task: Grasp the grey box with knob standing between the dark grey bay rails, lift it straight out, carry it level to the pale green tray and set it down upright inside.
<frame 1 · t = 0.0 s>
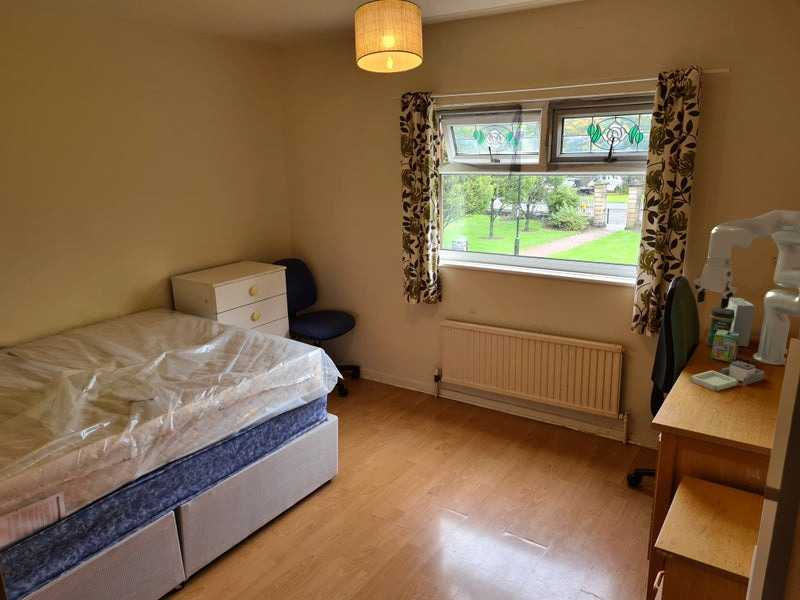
hand: (712, 304, 211), 31 cm above the table, fingers open, 9 cm apart
chalk box: (723, 358, 242), on the table
bay: (740, 377, 220), on the table
dock tray: (713, 382, 216), on the table
grey box with knob: (740, 378, 220), resting in bay
coffee jar: (717, 346, 256), on the table
hard drive box: (733, 341, 263), on the table
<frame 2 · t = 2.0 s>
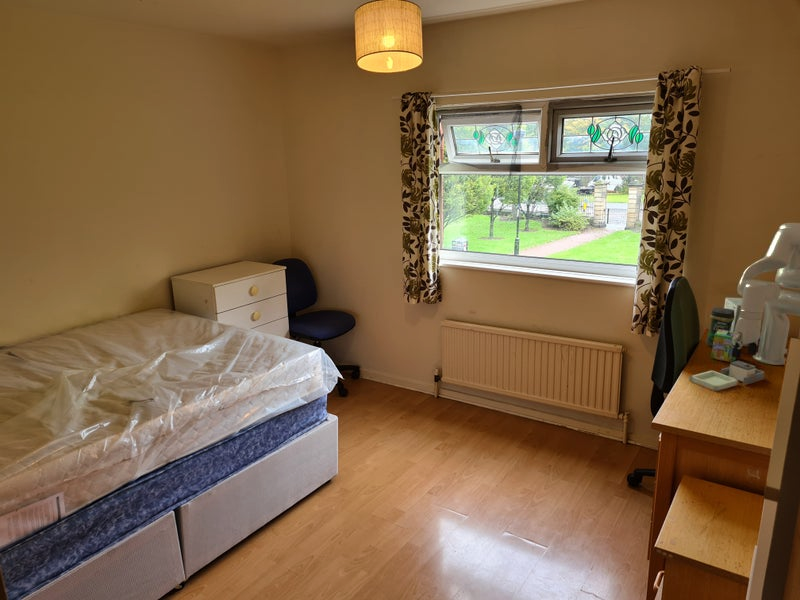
hand: (743, 356, 217), 10 cm above the table, fingers open, 9 cm apart
nothing on the table moved.
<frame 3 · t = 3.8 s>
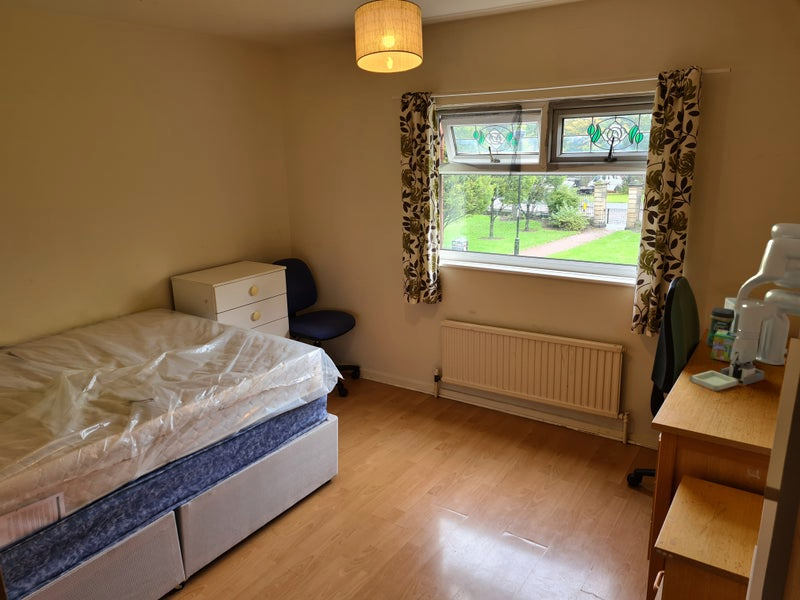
hand: (741, 376, 220), 1 cm above the table, fingers closed on grey box with knob, 5 cm apart
grey box with knob: (740, 378, 220), resting in bay, touching gripper
everything else where it was.
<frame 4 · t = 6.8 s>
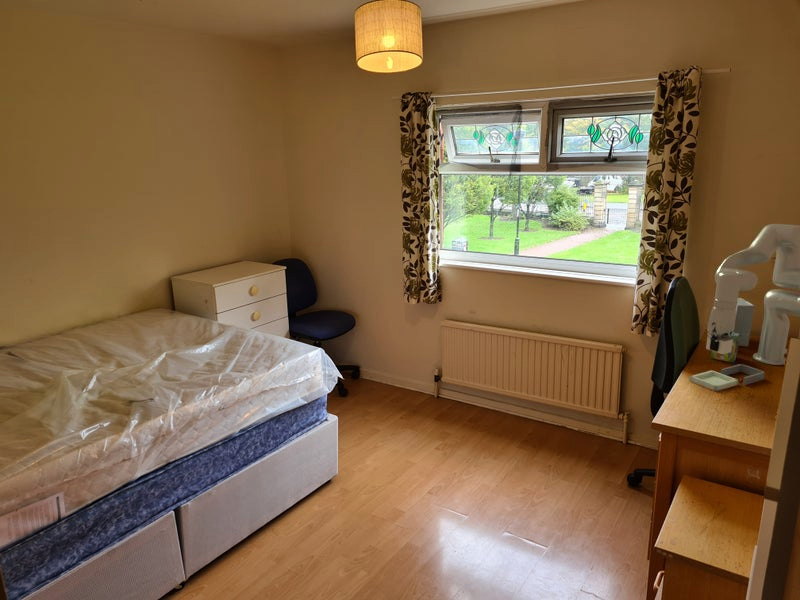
hand: (718, 348, 212), 14 cm above the table, fingers closed on grey box with knob, 5 cm apart
grey box with knob: (718, 350, 212), point 14 cm above the table, touching gripper
everything else where it was.
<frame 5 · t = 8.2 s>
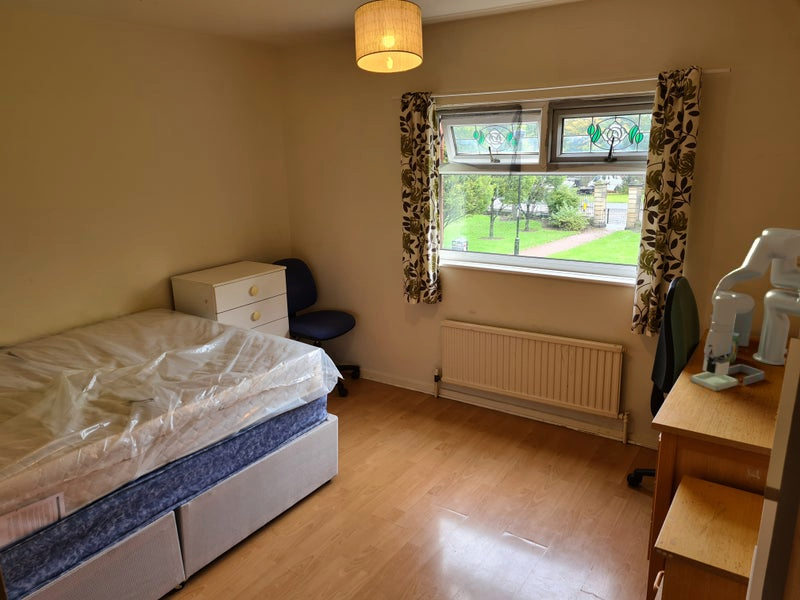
hand: (715, 370, 215), 5 cm above the table, fingers closed on grey box with knob, 5 cm apart
grey box with knob: (715, 372, 215), point 5 cm above the table, touching gripper
everything else where it was.
when the fingers open (2 cm above the table, at t = 9.7 s): grey box with knob stays where it is, resting on dock tray.
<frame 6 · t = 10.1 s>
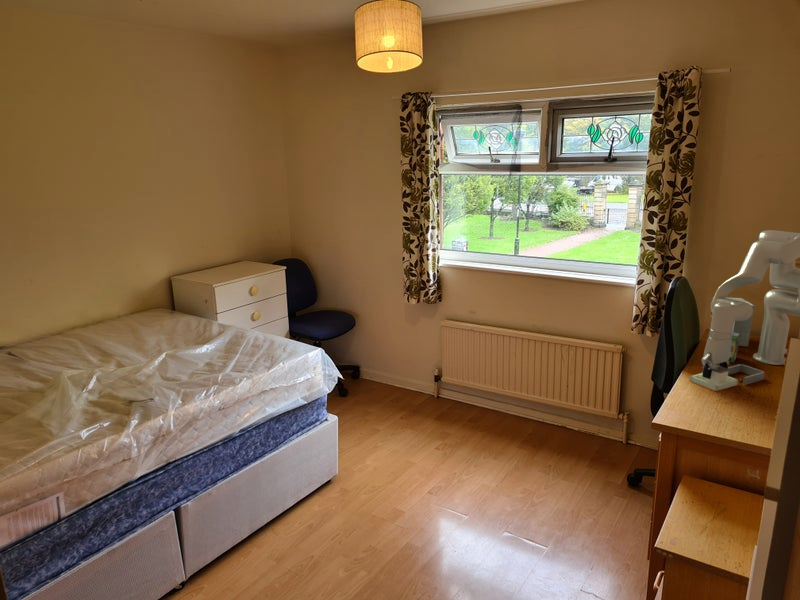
hand: (714, 375, 215), 3 cm above the table, fingers open, 9 cm apart
grey box with knob: (713, 381, 216), resting on dock tray
everything else where it was.
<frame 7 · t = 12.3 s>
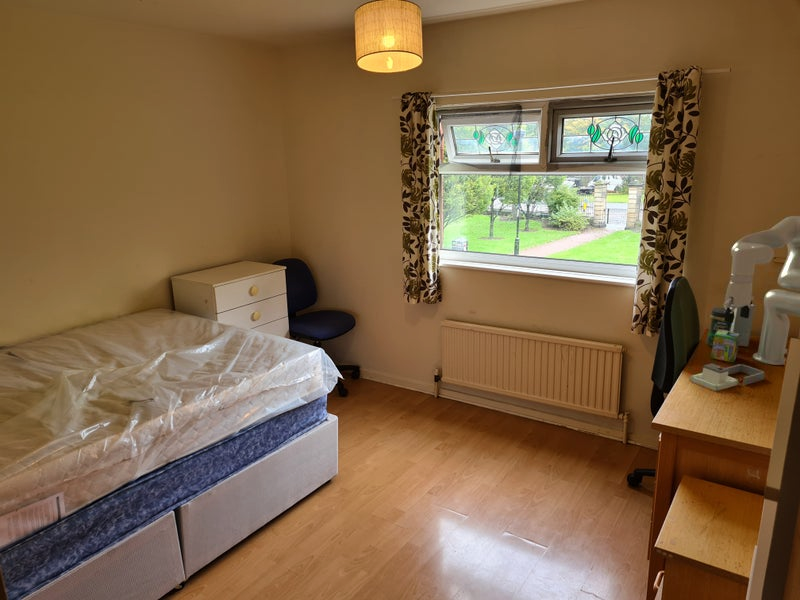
hand: (736, 319, 217), 24 cm above the table, fingers open, 9 cm apart
nothing on the table moved.
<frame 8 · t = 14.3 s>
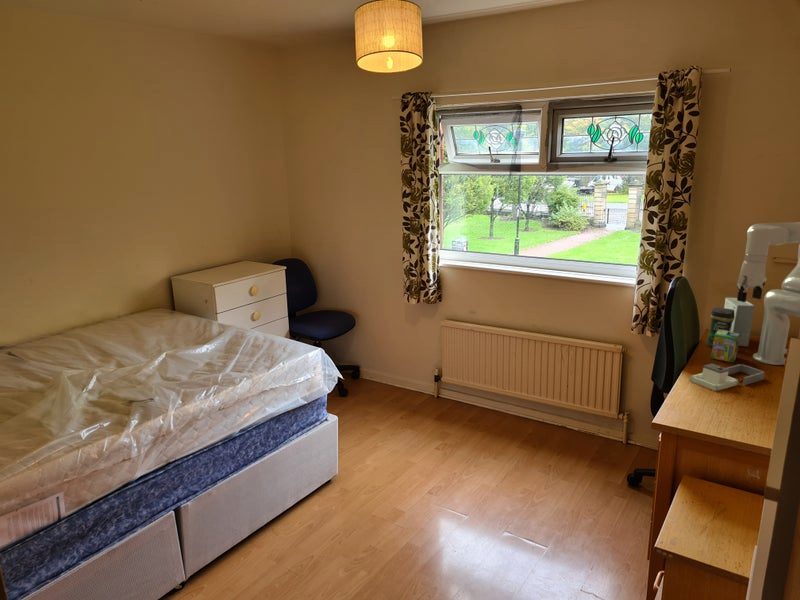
hand: (748, 299, 221), 30 cm above the table, fingers open, 9 cm apart
nothing on the table moved.
at the end: grey box with knob inside the target area on the dock tray (0.2 cm from its centre), point 0.5 cm above the dock tray's base; grey box with knob tilted 0°; the gripper is holding nothing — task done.
